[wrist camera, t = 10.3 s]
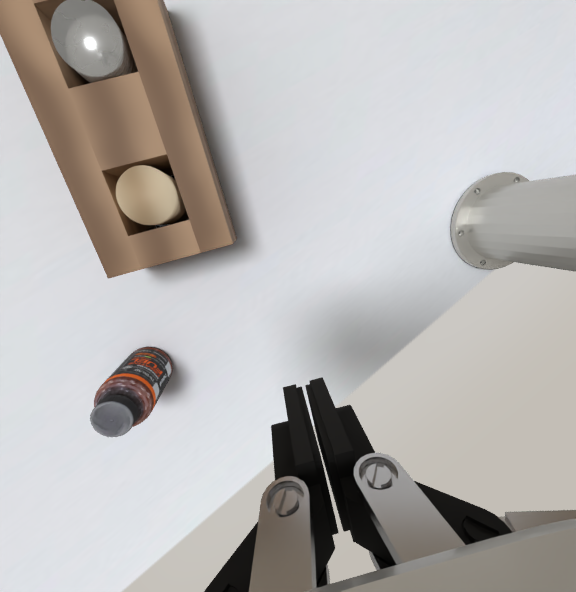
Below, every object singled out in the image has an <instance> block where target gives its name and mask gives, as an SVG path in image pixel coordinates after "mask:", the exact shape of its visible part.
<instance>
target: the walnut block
mask: <svg viewBox="0 0 576 592" xmlns="http://www.w3.org/2000/svg"><path fill="white" fill-rule="evenodd" d="M64 1H66V0H0V35H1V37H2V39H3V41H4V44H5V46H6V48H7V50H8V53H9V55H10V57H11V59H12V62H13V64H14V66H15V68H16V71H17V73H18V75H19V78H20V80H21V82H22V84H23V87H24V89H25V91H26V93H27V96H28V98H29V100H30V102H31V105H32V107H33V109H34V111H35V114H36V116H37V118H38V121H39V123H40V125H41V127H42V130H43V132H44V134H45V136H46V139H47V141H48V143H49V145H50V148H51V150H52V152H53V155H54V157H55V159H56V161H57V164H58V166H59V168H60V170H61V173H62V175H63V177H64V179H65V182H66V184H67V186H68V188H69V191H70V193H71V195H72V198H73V200H74V202H75V204H76V207H77V209H78V211H79V213H80V216H81V218H82V220H83V222H84V225H85V227H86V229H87V231H88V234H89V236H90V238H91V241H92V243H93V245H94V247H95V250H96V252H97V254H98V256H99V259H100V261H101V263H102V265H103V268H104V270H105V272H106V275H107V277H108V278H112V277H115V276H119V275H123V274H126V273H130V272H133V271H137V270H141V269H144V268H148V267H151V266H155V265H159V264H162V263H166V262H170V261H173V260H177V259H180V258H184V257H188V256H191V255H195V254H199V253H202V252H206V251H209V250H213V249H217V248H220V247H224V246H227V245H231V244H233V243H234V242H235V241H236V239H237V237H236V234H235V230H234V227H233V224H232V220H231V217H230V214H229V211H228V207H227V204H226V201H225V198H224V194H223V191H222V188H221V184H220V181H219V178H218V175H217V171H216V168H215V165H214V162H213V158H212V155H211V152H210V148H209V145H208V142H207V139H206V135H205V132H204V129H203V126H202V122H201V119H200V116H199V112H198V109H197V106H196V103H195V99H194V96H193V93H192V90H191V86H190V83H189V80H188V77H187V73H186V70H185V67H184V63H183V60H182V57H181V54H180V50H179V47H178V44H177V41H176V37H175V34H174V31H173V27H172V24H171V21H170V18H169V14H168V11H167V8H166V6H165V3H164V1H163V0H92V1H94V2H96V3H98V4H99V5H101V6H102V7H103V8H104V9H105V10H107V11H108V13H109V14H110V15H111V16H112V18H113V19H114V21H115V22H116V24H117V25H118V27H119V28H120V30H121V31H122V33H123V34H124V35H125V37H126V38H127V40H128V43H129V46H130V49H131V51H132V54H133V57H134V60H135V63H136V66H137V69H138V72H135V73H131V74H127V75H123V76H119V77H114V78H110V79H106V80H102V81H98V82H94V83H89V82H88V81H87V80H86V79H85V78H84V77H82V76H81V75H80V74H79V73H78V72H77V71H75V70H74V69H73V68H72V67H71V66H70V65H68V64H67V63H66V62H65V61H64V60H63V59H62V57H61V56H60V55H59V53H58V51H57V50H56V48H55V45H54V43H53V40H52V36H51V20H52V17H53V14H54V12H55V10H56V9H57V7H58V6H59V5H60V4H61V3H63V2H64ZM139 165H145V166H150V167H153V168H156V169H158V170H160V171H161V172H163V173H165V174H167V175H169V176H171V175H174V176H175V179H176V182H177V185H178V188H179V191H180V194H181V197H182V200H183V203H184V206H185V208H186V211H187V214H188V217H189V220H186V221H183V222H179V223H175V224H172V225H168V226H164V227H160V228H157V229H156V226H155V225H144V224H140V223H137V222H135V221H133V220H131V219H130V218H129V217H128V216H126V215H125V214H124V212H123V211H122V210H121V208H120V206H119V204H118V201H117V198H116V185H117V182H118V180H119V178H120V176H121V175H122V174H123V173H124V172H125V171H126V170H127V169H129V168H131V167H134V166H139Z"/></svg>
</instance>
